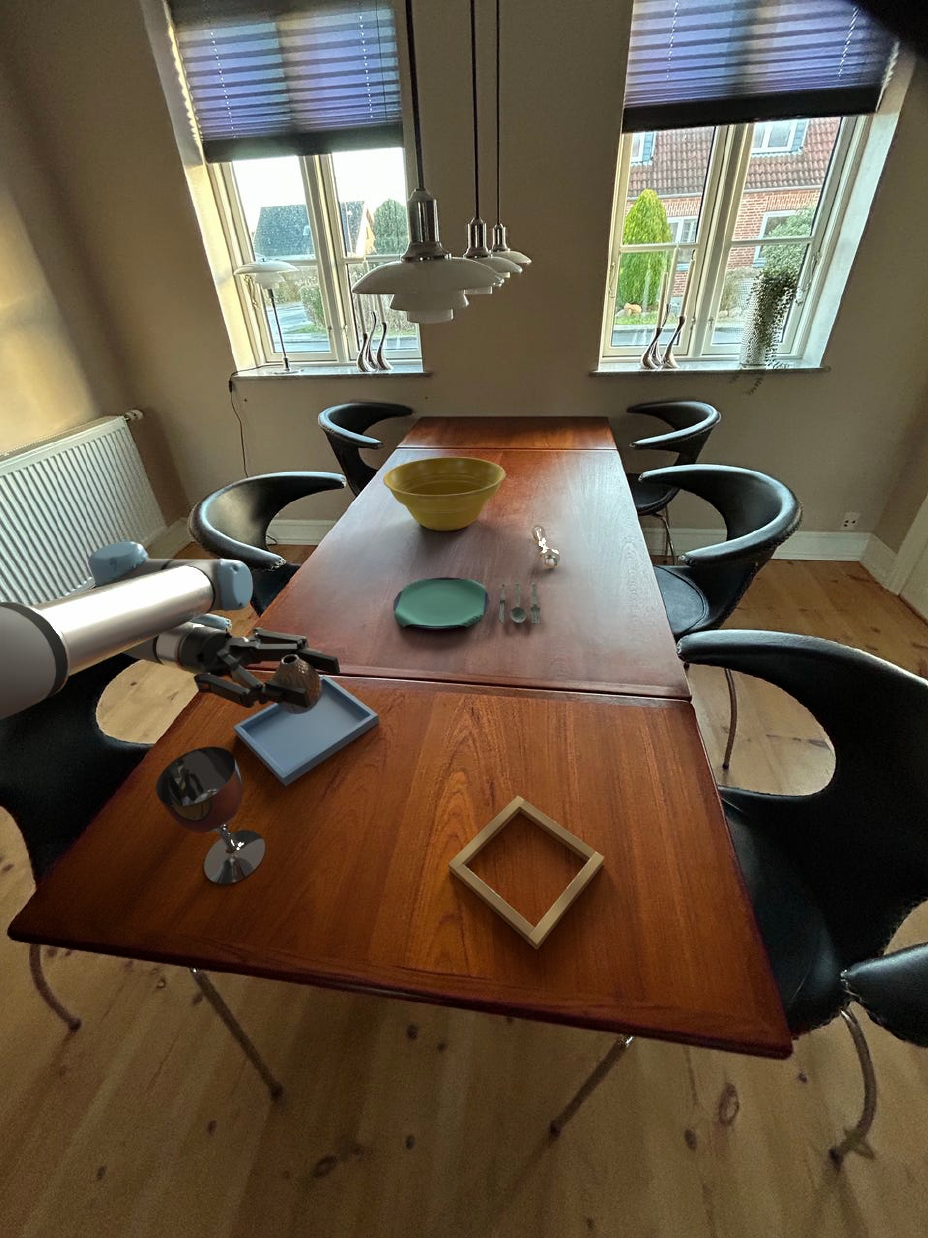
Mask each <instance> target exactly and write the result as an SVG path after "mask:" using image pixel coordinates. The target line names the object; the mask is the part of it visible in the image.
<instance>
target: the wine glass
mask: <svg viewBox="0 0 928 1238" xmlns="http://www.w3.org/2000/svg"><path fill="white" fill-rule="evenodd" d="M241 774H242V773H241V772H240V768H239V766H238V763H237V760H236V759H235V757H234V755H233V753H232V752H231V751H229V750H228V749H226V748H224V747H220V746H204V747H200V748H196V749H193V750H190V751H187V752H186V753H183V754H181V755H180V756H178V757H177V758H175V759H174V760H172V761H171V762H170V763H169V764H167V766H165V768H164V769H163V770H162V772H161V773H160V775H159V777H158V779H157V781H156V785H155V793H156V796H157V798H158V800H159V802H160V804H161V805H162V807H163V808H164V810H165V811H166V814H168V816H169V817H170V818H171V819H172V820H173V821H174V822H175V823H176V824H178V825H179V826H180V827H181V828H182V829H184V830H186V831H188V832H190V833H195V834H209V833H213V832H214V833H216V834H217V835H218V836H219V837H220V839H219V840H218V841H216V842H215V843H214V844H213V845H212V846H211V848H210V849H209V851H208V852H207V854H206V856H205V859H204V863H203V869H204V870H203V871H204V874H205V876H206V877H207V879H208V880H210V881H211V882H212V883H215V884H218V885H230V884H234V883H237V882H240V881H242V880H243V879H245V878H247V877H248V876H250V875H251V874H252V873H253V872H254V871H255V870H256V869H257V868H258V867H259V865H260V864H261V863H262V861H263V859H264V857H265V853H266V843H265V839H264V837H262V835H261V834H260V833H258V832H256V831H254V830H250V829H241V830H236V831H233V832H231V833H230V829H229V825H230V823H231V822H232V820H234V818H235V817H236V816H237V814H238V813H239V811H240V808H241V807H242V804H243V798H244V787H243V780H242V775H241Z"/></svg>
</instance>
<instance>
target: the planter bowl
mask: <svg viewBox="0 0 928 1238" xmlns="http://www.w3.org/2000/svg"><path fill="white" fill-rule="evenodd" d="M505 478H506V470H505V469H504V468H503V467H502V466H500V465H499V464H496V463H495V462H491V461H489V460H486V459H485V460H484V459H480V458H475V457H464V456H440V457H430V458H424V459H423V458H422V459H417V460H413V461H409V462H406V463H403V464H399V465H398V466H395V467H393V468H391V469H390V470H388V471H387V472H386V473H385V474H384V475H383V478H382V482H383V485H385V487H387V489H389V490H390V492H391V494H392V496H393V497H394V499H395V500H396V501H397V502H398V503H400V504H402V505H403V506H405V507H406V509H407V511H408V512H409V513H410V515H411V516H412V517H413V519H414V520H415V522H416V523H418V524H419V525H421V526H423V527H424V528H426V529H428V530H433V531H439V532H449V531H450V532H451V531H456V530H460V529H464V528H466V527H468V526H469V525H471V524H473V523H474V522H476V520H477V519H478V518H479V516H480V515H481V513H482V512H483V510H484V508H485V505H486V504H487V502H488V501H489V500H491V499H492V498H493V497H495V495H496V494H497V492H498V489H499V488H500V485H501V483H502V482H503V481H504V480H505Z"/></svg>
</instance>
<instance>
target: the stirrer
mask: <svg viewBox="0 0 928 1238" xmlns="http://www.w3.org/2000/svg"><path fill="white" fill-rule="evenodd" d="M536 529H539V532H538V530H536ZM539 533H540V536H539ZM531 534H532V537H533V539H534V540H535V542H536V543H537V544H538V546H540V547H541V548H543V549H542V550H541V551H540V553H539V558H540V560H541V562H542V563H543V564H544V565H545V566H546V567H547V568H555V567H557V566H558V565H559V563H560V562H561V554H560V553H559V552H558V551H557V550H555V549H553V548H551V547H548V546H547V545H546V541H547V539H546V538H547V537H546V536H547V535H546V529H545V528H544V526H542V525H540V524H535V525H533V526H532V527H531ZM540 537H541V538H540Z"/></svg>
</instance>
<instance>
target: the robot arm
mask: <svg viewBox="0 0 928 1238" xmlns="http://www.w3.org/2000/svg"><path fill="white" fill-rule="evenodd" d="M87 561H88V563H87V564H88V567H89V569H90V572H91V576H92V577H93V580H94V585H95V586H96V587H95V588H92V589H88V590H84V591H81V592H76V593H73V594H69V595H65V596H62V597H58V598H54V599H50V600H47V601H44V602H39V603H36V604H32V605H27V604H26V603H22V602H21V603H20V602H18V601H0V721H1V720H4V719H7V718H8V717H11V716H13V715H16V714H18V713H20V712H23V711H25V710H26V709H28V708H30V707H33V706H35V705H36V704H38V703H41V702H42V701H43V702H44V701H45V700H47V699H49V698H51V697H53V696H55V695H56V694H58V693H59V692H60V691H61V690H62V689H63V688H64V686H65V685H66V683H67V681H68V679H69V677H70V676H72V675H75V674H77V673H79V672H82V671H84V670H86V669H88V668H90V667H93V666H94V665H96V664H100V663H101V662H103V661H105V660H107V659H109V658H112V657H114V656H116V655H118V654H120V653H122V654H124V655H127V656H129V657H132V658H133V659H136V660H144V661H147V662H150V663H154V664H158V665H161V666H165V667H168V668H172V669H175V670H180V671H182V672H188V673H189V674H193V675H194V676H193V678H192V679H193V681H194V683H195V685H196V687H197V690H198V692H199V693H206V694H213V695H215V696H218V697H219V698H222V699H225V700H227V701H230V702H232V703H234V704H236V705H239V706H241V707H243V708H246V709H251V708H253V707H254V706H255V702H257V701H258V703H259V705H260V706H261V705H266V704H267V703H268V702H270V703H271V702H272V703H273V704H274V703H282V702H283V701H284V702H287V703H291V704H294V705H298V706H301V707H305V708H308V707H309V706H310V701H309V697H308V693H307V690H305V689H302V688H298V687H294V686H291V685H287V684H283V683H279V682H276V681H272V679H266V680H265V681H264V682H262V681H260V680H259V679H258V678H256V677H255V676H254V675H253V674H252V673H250V672H249V671H248V670H246V668H247V667H248V666H249V665H261V664H262V662H281V659H282V658H283V657H284V656H286V655H290V654H293V655H296V656H298V657H299V658H300V659H301V660H303V661H305V662H307V663H309V664H310V665H311V666H312V667H314V669H315V670H316V671H320V672H325V673H328V674H333V675H335V676H336V675H339V674H340V673H341V669H340V664H339V659H338V657H337V656H333V655H330V654H324V653H323V652H322V651H321V650H318V649H313V648H310V646H309V642H308V639H307V637H306V636H302V635H295V634H289V633H283V632H277V631H276V632H275V631H269V630H265V629H263V628H261V627H259V626H257V627H254V628H252V634H250V635H248V636H247V637H246V636H233V635H231V633H229V632H227V631H226V630H224V629H219V628H215V627H211V626H205V625H203V624H200V623H194V622H191V621H193V620H195V619H198V618H200V617H202V616H204V615H207V614H209V613H212V612H215V611H224V612H229V611H230V612H231V611H240V610H243V609H245V608H246V607H247V606H248V605H249V603H250V602H251V600H252V597H253V593H254V592H253V591H254V584H253V577H252V573H251V571H250V569H249V567H248V566H247V564H246V563H244V562H243V561H241V560H235V559H224V558H219V559H175V558H150V557H149V554H148V552H147V551H146V550H145V548H144V547H143V545H142V544H140V543H137V542H135V541H120V542H114V543H111V544H107V545H105V546H102V547H100V548H98V549H96V550H95V551H94V552H92V553H91V554H90V556H89V557H88V560H87ZM223 677H226V678H229V679H230V680H231V681H232V682H231V681H229V680H226V679H225V678H223ZM263 684H264V685H263Z"/></svg>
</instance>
